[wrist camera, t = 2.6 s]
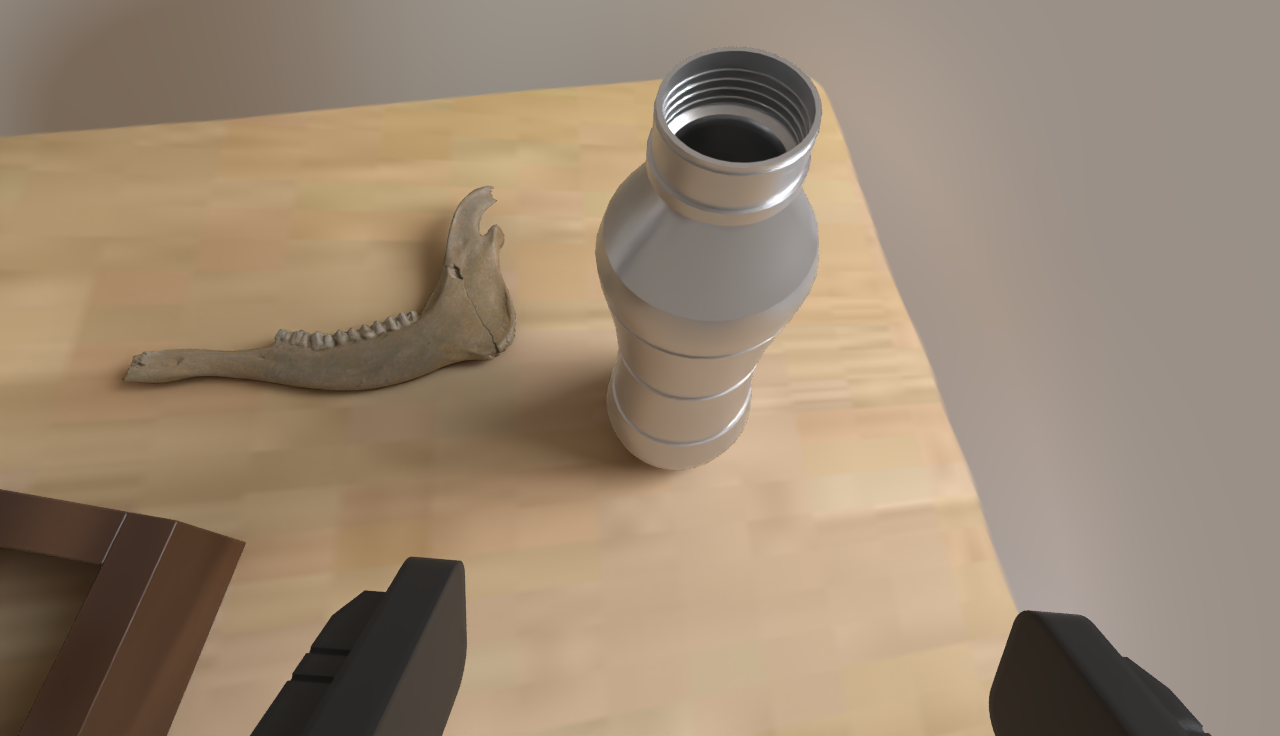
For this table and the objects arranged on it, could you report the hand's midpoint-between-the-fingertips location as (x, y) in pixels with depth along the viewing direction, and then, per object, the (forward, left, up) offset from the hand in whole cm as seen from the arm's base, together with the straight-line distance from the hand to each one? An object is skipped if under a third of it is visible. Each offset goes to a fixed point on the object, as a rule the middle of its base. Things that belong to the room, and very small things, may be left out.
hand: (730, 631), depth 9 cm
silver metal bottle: (-1, +11, -20) cm, 23 cm away
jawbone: (-19, +14, -20) cm, 32 cm away
